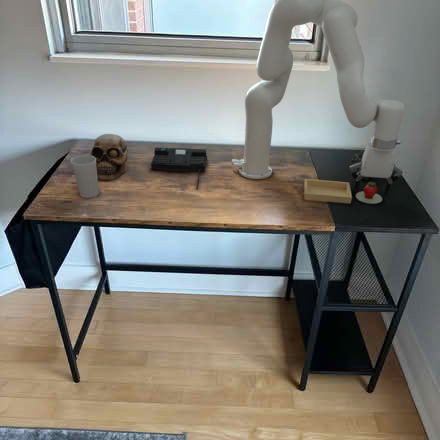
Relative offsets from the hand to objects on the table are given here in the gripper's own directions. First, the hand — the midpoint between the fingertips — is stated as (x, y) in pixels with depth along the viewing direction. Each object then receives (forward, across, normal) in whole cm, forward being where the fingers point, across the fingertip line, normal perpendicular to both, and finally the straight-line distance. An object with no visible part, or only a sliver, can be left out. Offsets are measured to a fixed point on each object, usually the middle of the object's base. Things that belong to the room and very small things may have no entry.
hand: (370, 191), depth 153 cm
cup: (+3, +96, +14) cm, 97 cm away
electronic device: (+3, +70, -10) cm, 70 cm away
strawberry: (+2, 0, 0) cm, 2 cm away
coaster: (+3, 0, 0) cm, 3 cm away
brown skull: (+3, +94, -6) cm, 95 cm away
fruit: (+3, 0, -19) cm, 19 cm away
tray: (+3, +14, 0) cm, 15 cm away
